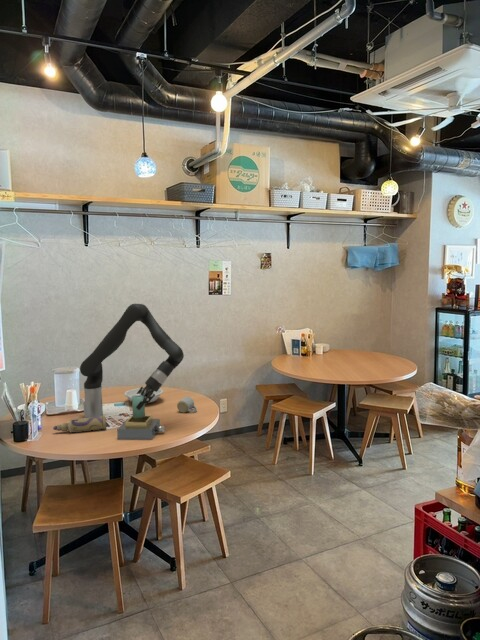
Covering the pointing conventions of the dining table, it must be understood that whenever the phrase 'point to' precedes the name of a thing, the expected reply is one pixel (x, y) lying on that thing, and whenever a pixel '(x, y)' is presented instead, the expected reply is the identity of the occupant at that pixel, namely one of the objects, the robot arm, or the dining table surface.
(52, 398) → the dining table surface
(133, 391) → the soup bowl
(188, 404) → the ceramic mug
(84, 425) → the decorative bottle
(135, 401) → the oil can
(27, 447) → the dining table surface
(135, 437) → the grey metal block
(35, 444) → the dining table surface
